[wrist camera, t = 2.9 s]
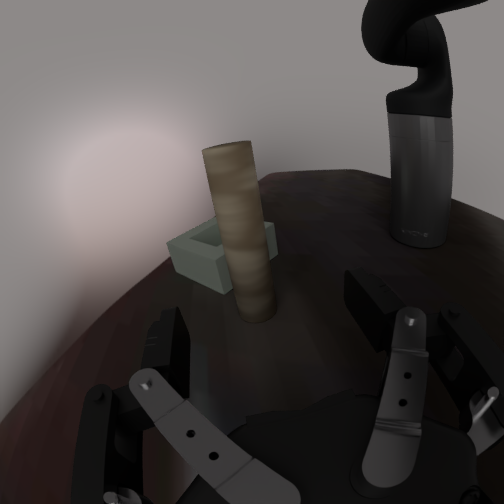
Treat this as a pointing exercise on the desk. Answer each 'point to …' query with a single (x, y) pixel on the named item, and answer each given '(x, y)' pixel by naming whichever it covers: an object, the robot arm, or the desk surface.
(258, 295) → the peg
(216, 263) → the socket
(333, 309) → the desk surface
